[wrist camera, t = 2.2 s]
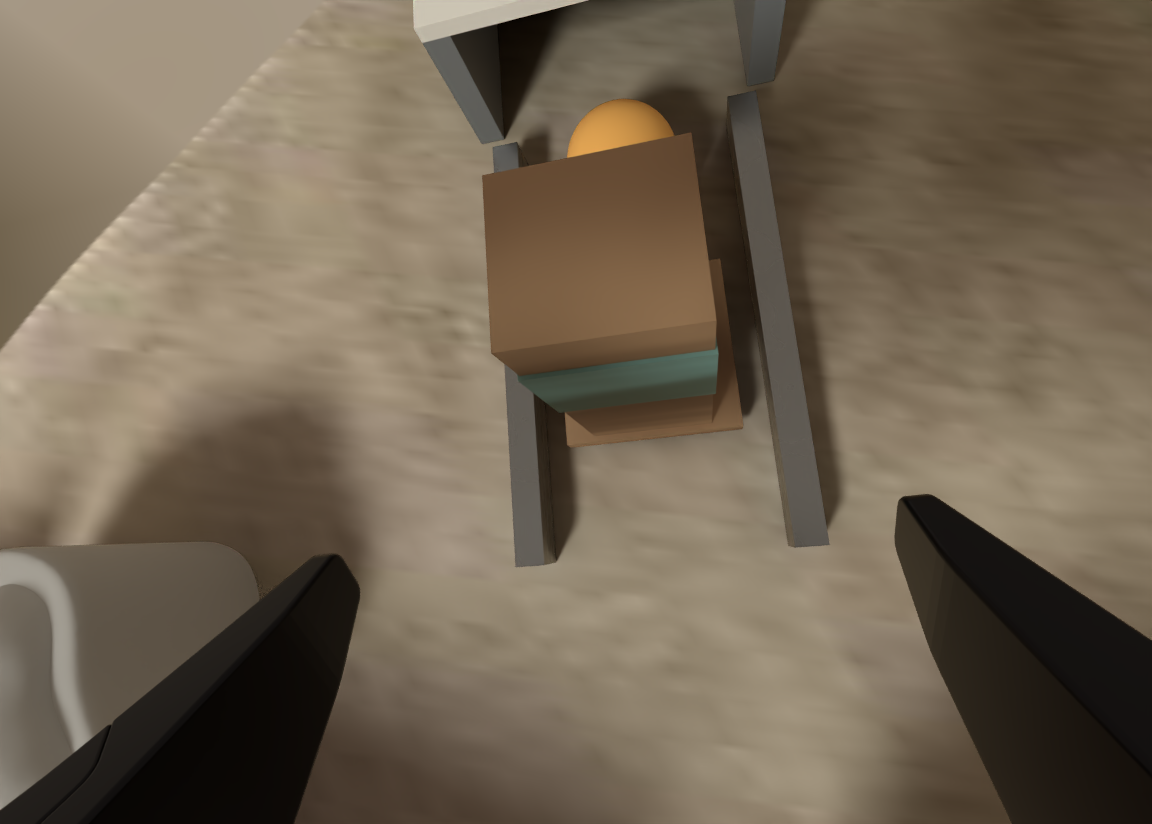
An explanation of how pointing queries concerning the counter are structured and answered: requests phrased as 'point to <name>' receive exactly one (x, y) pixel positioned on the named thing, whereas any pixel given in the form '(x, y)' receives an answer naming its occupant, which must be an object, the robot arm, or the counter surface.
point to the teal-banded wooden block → (611, 293)
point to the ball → (617, 127)
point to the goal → (478, 3)
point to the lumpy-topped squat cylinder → (100, 637)
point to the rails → (775, 355)
